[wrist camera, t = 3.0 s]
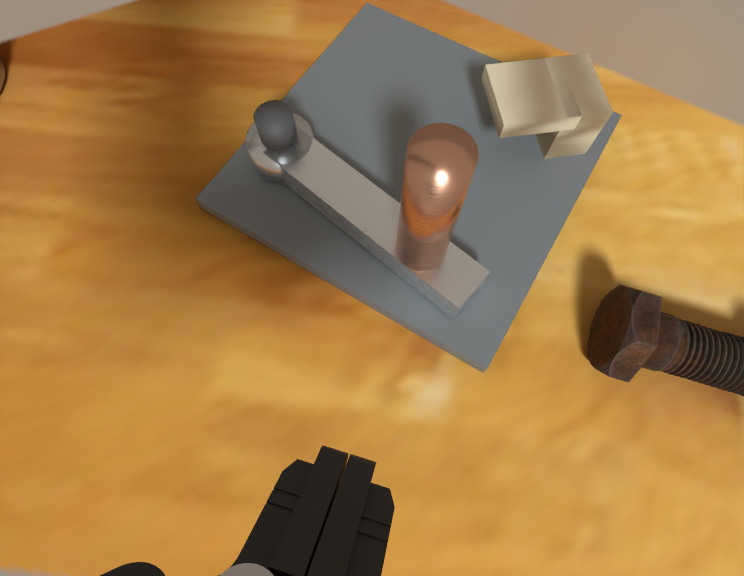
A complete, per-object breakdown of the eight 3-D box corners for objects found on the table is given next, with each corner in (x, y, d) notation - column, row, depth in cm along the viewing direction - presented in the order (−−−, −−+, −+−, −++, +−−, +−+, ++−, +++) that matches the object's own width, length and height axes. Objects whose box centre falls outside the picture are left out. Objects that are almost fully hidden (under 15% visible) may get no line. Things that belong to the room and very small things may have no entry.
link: (239, 159, 33) (179, 15, 22) (285, 121, 34) (247, -32, 24) (445, 327, 28) (488, 244, 18) (489, 276, 29) (552, 172, 19)
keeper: (488, 165, 33) (504, 125, 29) (472, 109, 35) (485, 64, 31) (585, 153, 33) (613, 112, 29) (564, 98, 35) (588, 53, 31)
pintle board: (482, 372, 29) (507, 350, 24) (201, 208, 33) (169, 158, 28) (613, 126, 36) (655, 67, 30) (367, 16, 40) (366, -53, 35)
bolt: (812, 423, 30) (577, 353, 31) (846, 349, 29) (604, 279, 30) (904, 471, 24) (611, 383, 25) (951, 380, 23) (646, 293, 24)
